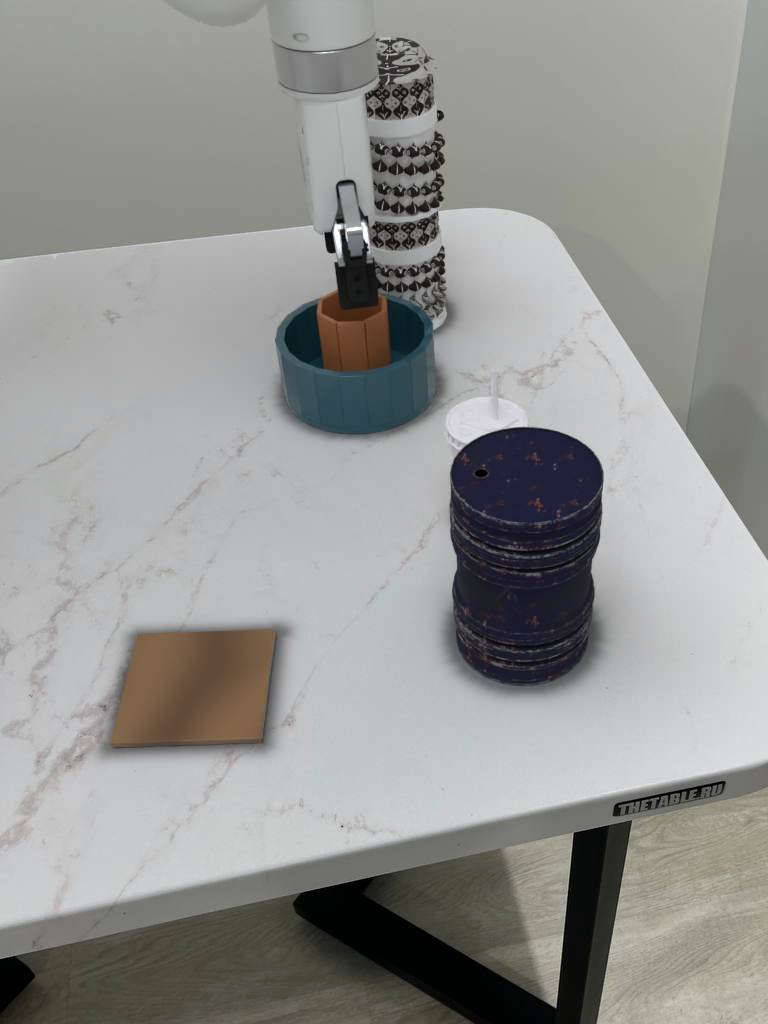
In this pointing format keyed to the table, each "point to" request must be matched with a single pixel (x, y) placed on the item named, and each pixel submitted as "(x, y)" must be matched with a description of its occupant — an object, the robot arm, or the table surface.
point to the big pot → (358, 373)
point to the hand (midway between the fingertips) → (351, 277)
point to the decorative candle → (407, 177)
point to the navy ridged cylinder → (524, 552)
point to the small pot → (353, 335)
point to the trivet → (196, 689)
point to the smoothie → (482, 417)
